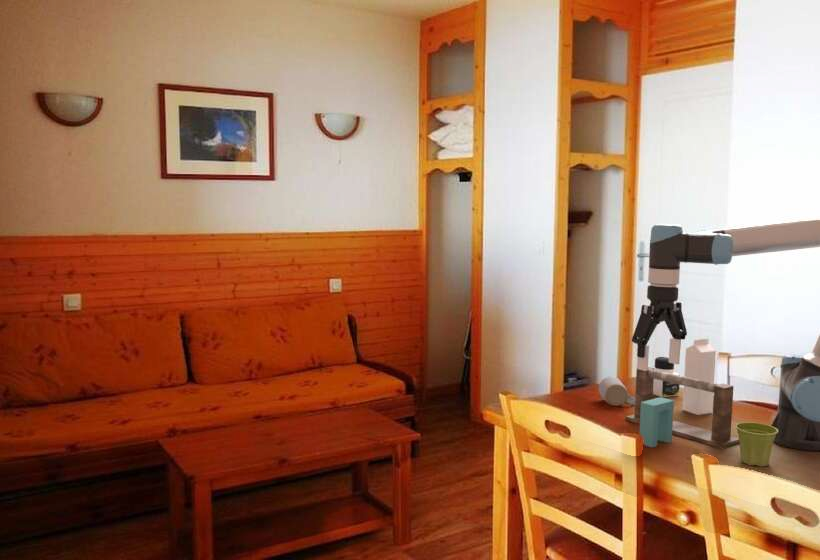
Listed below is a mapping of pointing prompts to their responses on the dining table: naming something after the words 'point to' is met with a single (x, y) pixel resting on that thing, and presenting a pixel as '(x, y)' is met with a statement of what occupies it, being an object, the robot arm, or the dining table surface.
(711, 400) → the milk
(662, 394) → the medicine bottle
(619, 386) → the ceramic mug
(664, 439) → the teal block
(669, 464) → the dining table surface
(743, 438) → the plant pot
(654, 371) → the hanger stand
